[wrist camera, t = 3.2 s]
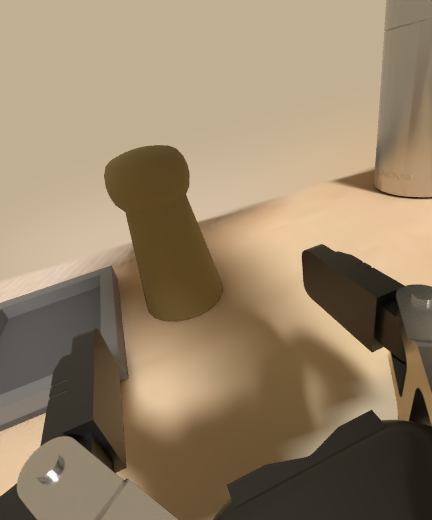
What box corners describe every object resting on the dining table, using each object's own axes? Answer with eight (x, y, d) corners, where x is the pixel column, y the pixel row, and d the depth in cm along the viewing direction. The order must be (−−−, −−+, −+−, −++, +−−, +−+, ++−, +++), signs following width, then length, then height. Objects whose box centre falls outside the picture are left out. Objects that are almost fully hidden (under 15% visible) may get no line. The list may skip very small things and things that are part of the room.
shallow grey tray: (117, 279, 28) (111, 265, 27) (128, 378, 17) (119, 360, 17) (1, 319, 26) (-9, 305, 25) (-62, 457, 16) (-82, 441, 15)
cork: (146, 331, 21) (78, 173, 15) (147, 284, 26) (96, 153, 20) (231, 306, 21) (194, 144, 16) (214, 265, 26) (182, 132, 21)
